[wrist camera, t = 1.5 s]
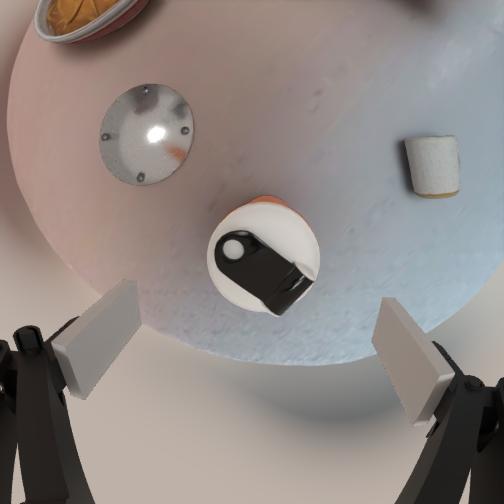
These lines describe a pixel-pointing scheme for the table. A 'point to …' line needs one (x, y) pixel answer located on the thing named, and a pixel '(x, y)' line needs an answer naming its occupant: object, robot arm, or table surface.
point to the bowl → (82, 18)
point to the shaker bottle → (263, 256)
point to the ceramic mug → (434, 166)
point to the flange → (146, 134)
